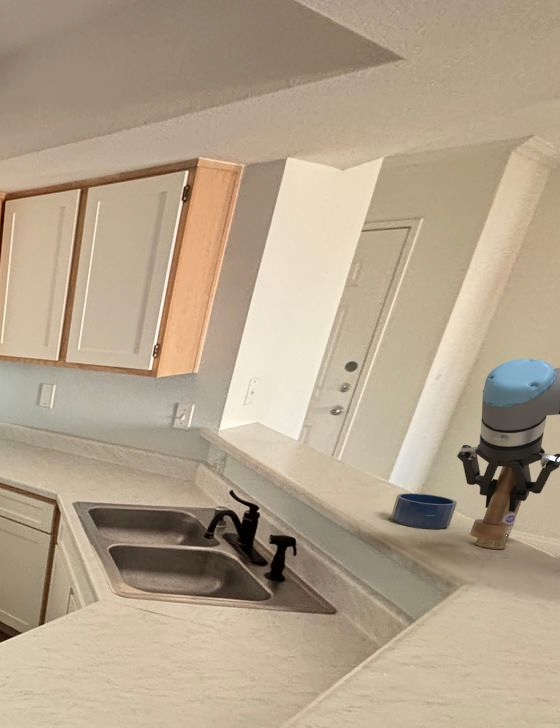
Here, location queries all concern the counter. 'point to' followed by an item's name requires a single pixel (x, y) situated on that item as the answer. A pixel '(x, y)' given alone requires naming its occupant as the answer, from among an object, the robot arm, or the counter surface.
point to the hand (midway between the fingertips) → (502, 504)
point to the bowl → (423, 510)
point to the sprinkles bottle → (510, 520)
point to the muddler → (496, 509)
